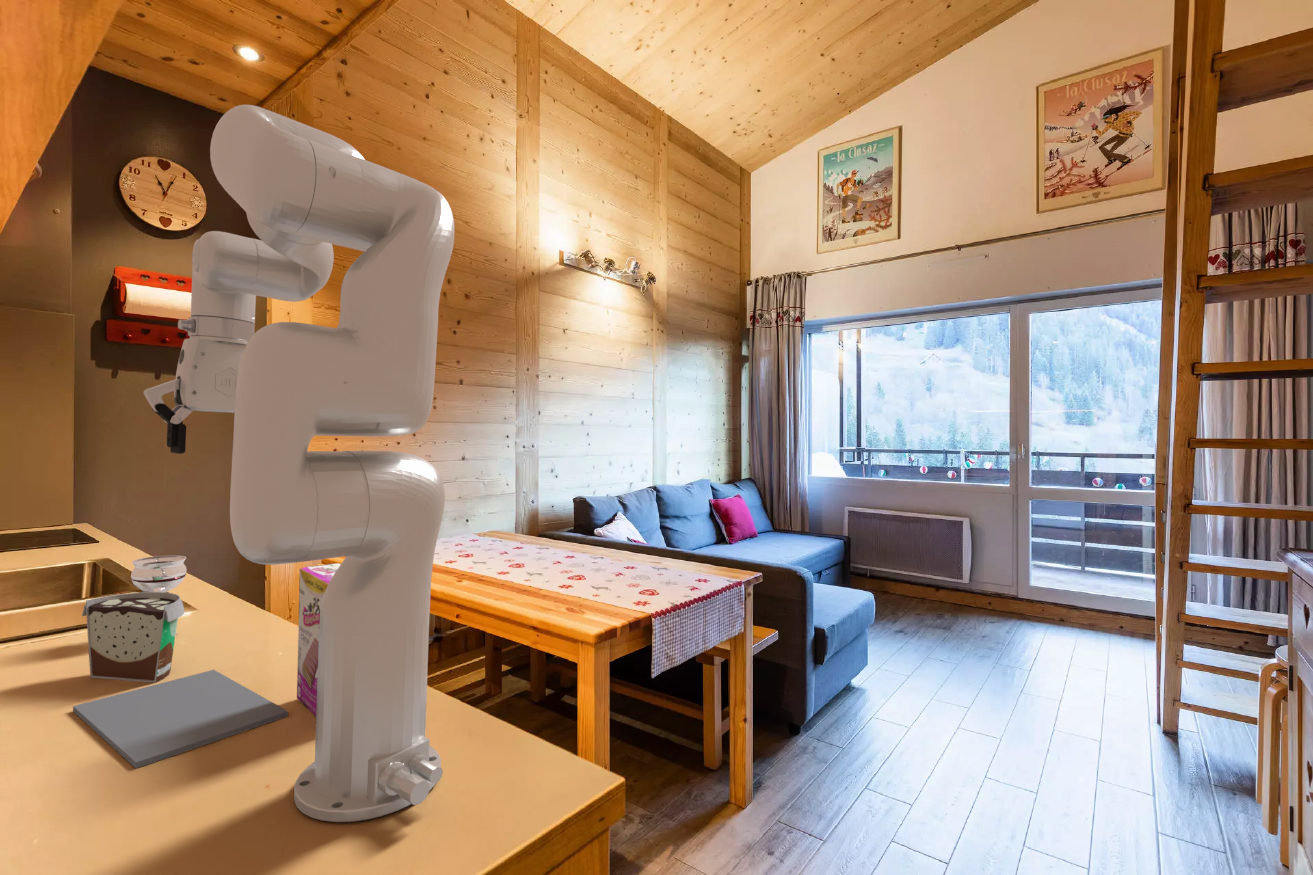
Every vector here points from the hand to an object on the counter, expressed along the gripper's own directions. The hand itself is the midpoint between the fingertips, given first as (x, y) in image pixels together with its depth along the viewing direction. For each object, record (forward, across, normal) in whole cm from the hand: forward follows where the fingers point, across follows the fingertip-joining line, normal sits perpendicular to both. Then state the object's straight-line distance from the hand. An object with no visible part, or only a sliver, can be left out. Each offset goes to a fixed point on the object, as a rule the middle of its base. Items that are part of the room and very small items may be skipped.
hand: (218, 452), depth 88 cm
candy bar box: (+29, +2, -30) cm, 42 cm away
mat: (+29, -9, -18) cm, 35 cm away
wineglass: (+30, -2, +15) cm, 34 cm away
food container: (+30, -7, 0) cm, 31 cm away
